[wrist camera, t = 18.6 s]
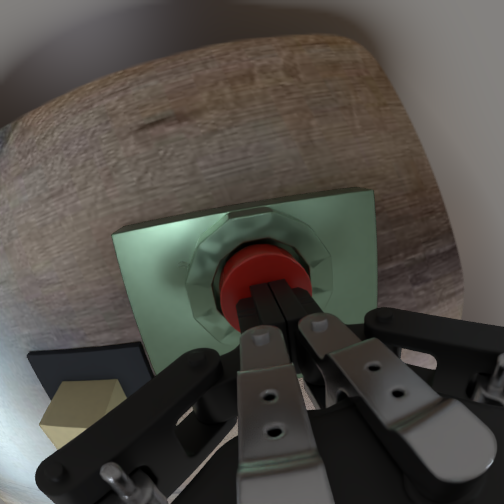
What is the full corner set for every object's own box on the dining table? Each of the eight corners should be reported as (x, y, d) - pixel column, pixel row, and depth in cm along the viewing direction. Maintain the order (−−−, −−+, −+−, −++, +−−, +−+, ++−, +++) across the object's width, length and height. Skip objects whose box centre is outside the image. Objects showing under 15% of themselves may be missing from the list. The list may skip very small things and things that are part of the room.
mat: (140, 341, 18) (138, 346, 18) (182, 437, 21) (181, 443, 20) (29, 351, 17) (26, 355, 17) (81, 439, 20) (80, 443, 20)
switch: (297, 236, 14) (308, 245, 12) (305, 312, 15) (315, 328, 13) (211, 251, 14) (211, 263, 12) (227, 327, 15) (229, 346, 13)
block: (117, 378, 18) (100, 428, 13) (142, 425, 19) (133, 474, 15) (62, 380, 18) (38, 424, 13) (89, 425, 19) (74, 469, 14)
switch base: (356, 186, 17) (391, 192, 14) (361, 340, 20) (386, 371, 17) (122, 226, 16) (98, 243, 12) (169, 380, 19) (164, 420, 15)
